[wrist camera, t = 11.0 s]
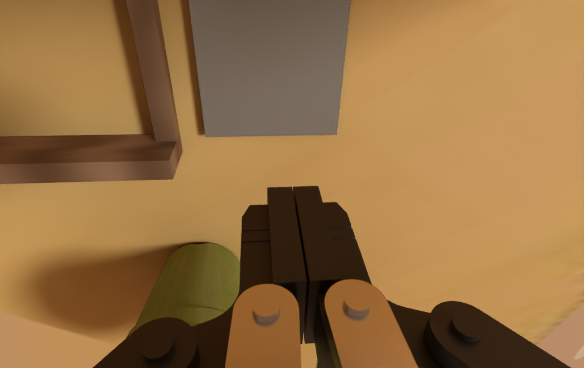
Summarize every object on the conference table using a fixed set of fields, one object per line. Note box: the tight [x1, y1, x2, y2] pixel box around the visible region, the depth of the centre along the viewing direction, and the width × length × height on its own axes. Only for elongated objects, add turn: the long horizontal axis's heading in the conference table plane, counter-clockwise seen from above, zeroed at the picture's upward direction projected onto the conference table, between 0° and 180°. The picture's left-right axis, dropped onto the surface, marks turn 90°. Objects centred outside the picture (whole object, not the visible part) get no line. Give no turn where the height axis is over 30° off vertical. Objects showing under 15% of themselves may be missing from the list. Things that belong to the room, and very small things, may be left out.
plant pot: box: [126, 243, 240, 338], centre depth 31 cm, size 12×12×11 cm
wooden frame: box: [0, 0, 182, 184], centre depth 22 cm, size 16×14×4 cm
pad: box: [188, 0, 351, 137], centre depth 24 cm, size 10×11×1 cm
